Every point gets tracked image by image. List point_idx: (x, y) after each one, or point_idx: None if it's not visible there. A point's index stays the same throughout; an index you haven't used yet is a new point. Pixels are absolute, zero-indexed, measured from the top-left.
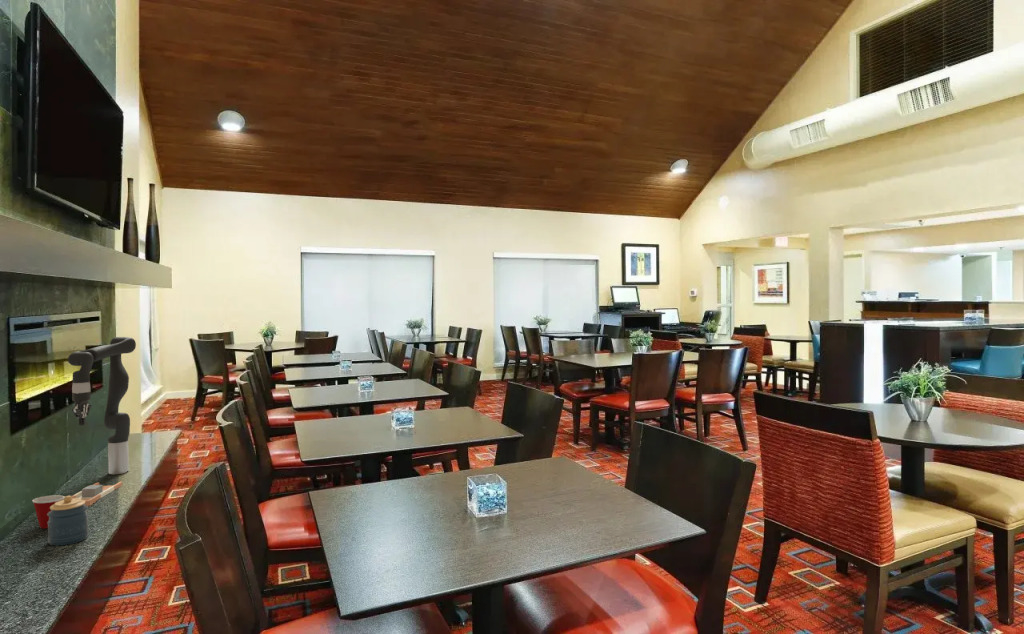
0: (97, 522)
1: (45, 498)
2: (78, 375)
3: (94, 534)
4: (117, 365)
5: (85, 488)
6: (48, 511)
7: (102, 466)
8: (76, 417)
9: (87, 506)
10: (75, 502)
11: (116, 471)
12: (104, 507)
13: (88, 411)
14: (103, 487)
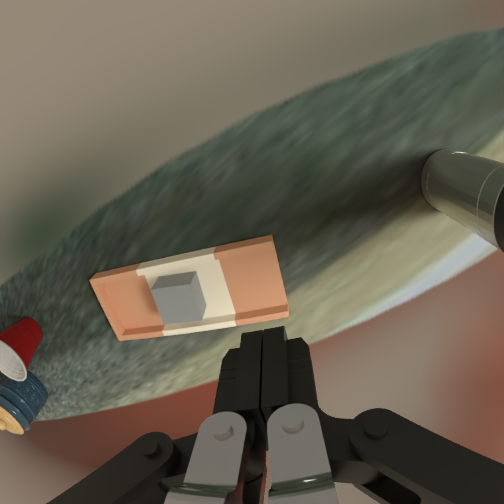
0: (76, 389)
1: (7, 344)
2: None
3: (53, 403)
4: None
5: (158, 295)
6: (11, 356)
7: (496, 77)
8: (151, 438)
9: (28, 429)
10: (9, 430)
11: (427, 193)
12: (128, 365)
13: (411, 499)
14: (259, 269)
